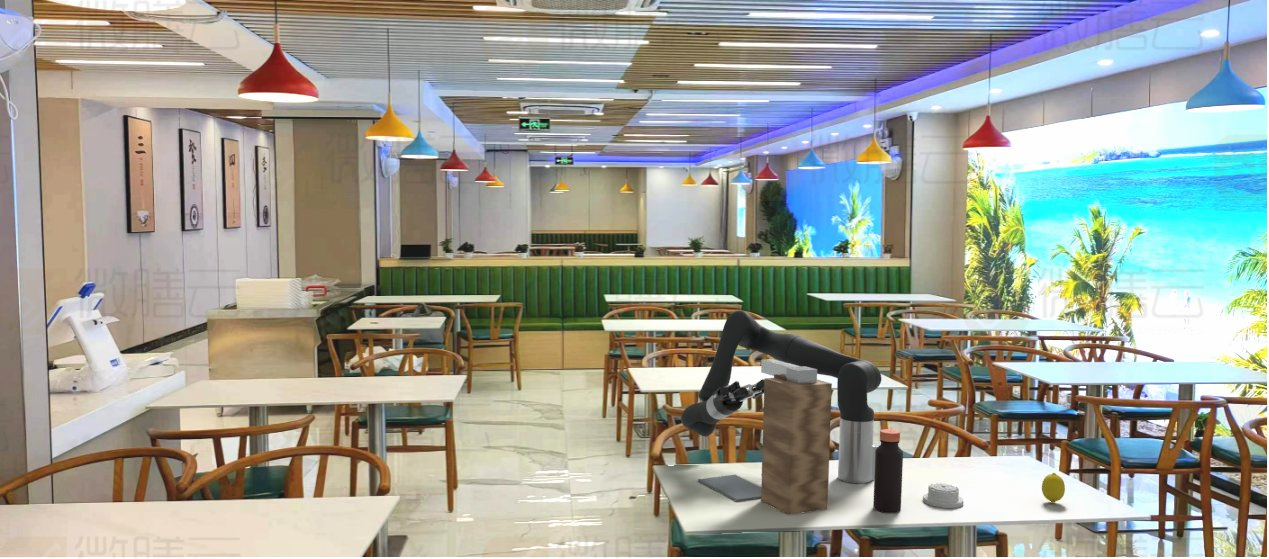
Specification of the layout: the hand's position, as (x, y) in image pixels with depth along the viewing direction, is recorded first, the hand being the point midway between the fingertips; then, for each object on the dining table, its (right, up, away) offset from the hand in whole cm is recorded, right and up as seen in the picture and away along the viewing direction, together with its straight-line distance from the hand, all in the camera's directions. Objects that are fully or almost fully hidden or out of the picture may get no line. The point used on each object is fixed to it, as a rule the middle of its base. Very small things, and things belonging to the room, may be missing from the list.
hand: (751, 383), depth 261 cm
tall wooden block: (+9, -29, -17) cm, 35 cm away
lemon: (+77, -30, -11) cm, 84 cm away
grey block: (+7, +3, -15) cm, 16 cm away
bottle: (+32, -30, -19) cm, 48 cm away
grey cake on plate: (+48, -30, -12) cm, 58 cm away
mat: (-5, -28, -3) cm, 29 cm away
